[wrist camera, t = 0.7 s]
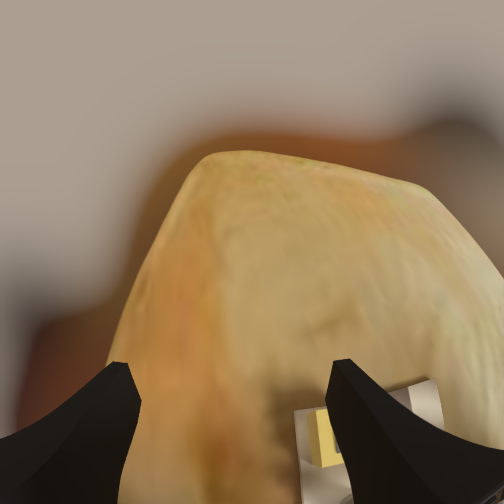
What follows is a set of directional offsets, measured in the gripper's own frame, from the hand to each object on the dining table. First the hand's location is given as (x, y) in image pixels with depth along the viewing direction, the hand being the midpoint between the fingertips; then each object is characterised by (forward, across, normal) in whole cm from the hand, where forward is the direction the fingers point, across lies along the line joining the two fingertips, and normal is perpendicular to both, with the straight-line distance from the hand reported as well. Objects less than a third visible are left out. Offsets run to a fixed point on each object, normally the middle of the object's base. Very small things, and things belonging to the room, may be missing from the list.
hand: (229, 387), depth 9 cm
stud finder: (+6, -8, +14) cm, 17 cm away
